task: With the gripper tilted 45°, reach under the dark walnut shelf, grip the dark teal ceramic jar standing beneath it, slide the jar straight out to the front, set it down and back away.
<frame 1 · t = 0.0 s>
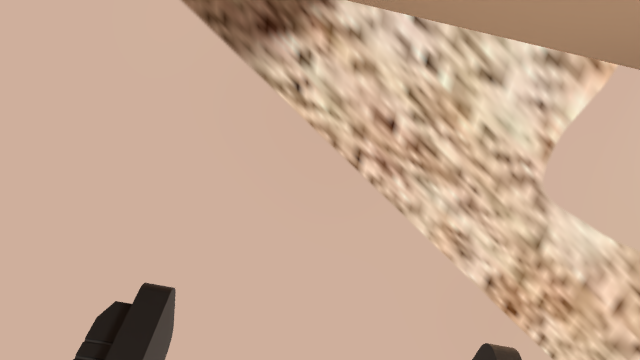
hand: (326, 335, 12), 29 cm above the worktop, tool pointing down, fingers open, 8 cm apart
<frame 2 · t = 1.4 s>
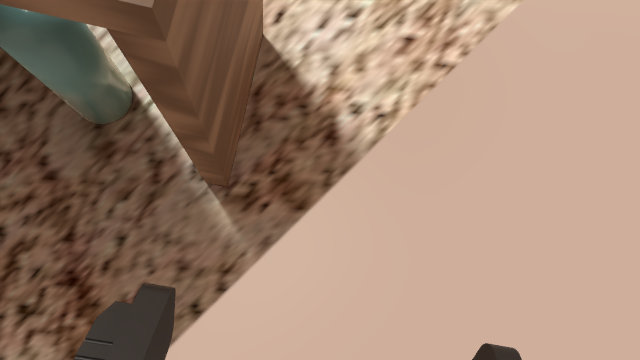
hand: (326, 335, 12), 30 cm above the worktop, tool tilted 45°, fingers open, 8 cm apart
walnut shelf: (109, 77, 42), on the worktop
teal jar: (103, 97, 42), on the worktop
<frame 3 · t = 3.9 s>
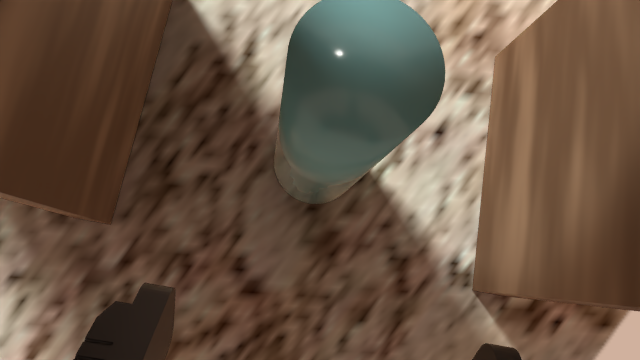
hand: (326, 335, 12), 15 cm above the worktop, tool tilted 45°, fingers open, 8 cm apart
walnut shelf: (321, 132, 28), on the worktop
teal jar: (315, 162, 28), on the worktop
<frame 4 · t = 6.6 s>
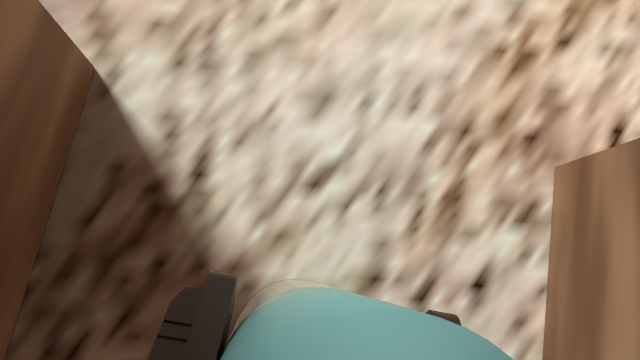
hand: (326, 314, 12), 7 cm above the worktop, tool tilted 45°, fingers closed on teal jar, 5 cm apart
walnut shelf: (304, 294, 19), on the worktop
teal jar: (295, 342, 19), on the worktop, touching gripper
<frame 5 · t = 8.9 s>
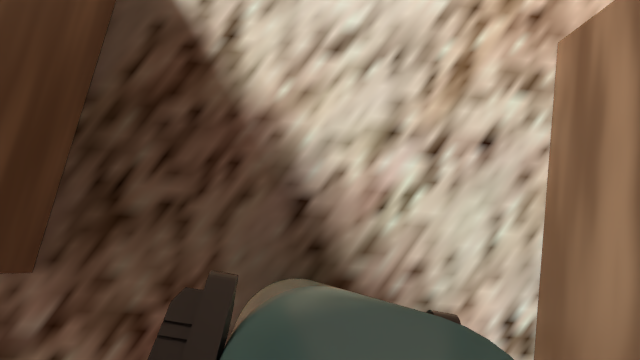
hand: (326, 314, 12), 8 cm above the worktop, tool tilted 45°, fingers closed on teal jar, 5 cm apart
walnut shelf: (328, 143, 21), on the worktop
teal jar: (295, 342, 19), on the worktop, touching gripper
when the fingers open (7 cm above the worktop, at t = 11.4 s): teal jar stays where it is, on the worktop.
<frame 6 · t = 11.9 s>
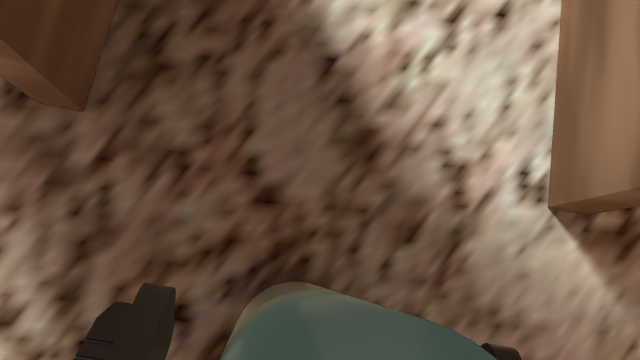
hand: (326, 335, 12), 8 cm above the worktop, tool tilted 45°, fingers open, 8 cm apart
walnut shelf: (353, 9, 22), on the worktop
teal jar: (294, 344, 19), on the worktop
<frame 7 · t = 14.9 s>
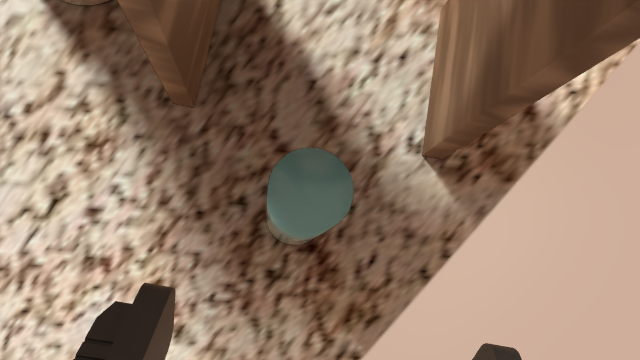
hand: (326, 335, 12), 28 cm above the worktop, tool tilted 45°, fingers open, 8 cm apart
walnut shelf: (325, 55, 44), on the worktop
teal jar: (294, 216, 41), on the worktop
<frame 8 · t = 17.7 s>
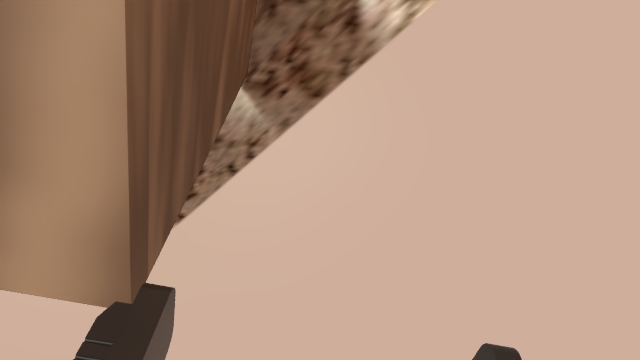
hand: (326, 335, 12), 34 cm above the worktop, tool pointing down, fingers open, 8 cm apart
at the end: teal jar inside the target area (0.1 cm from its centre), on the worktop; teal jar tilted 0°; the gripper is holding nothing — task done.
